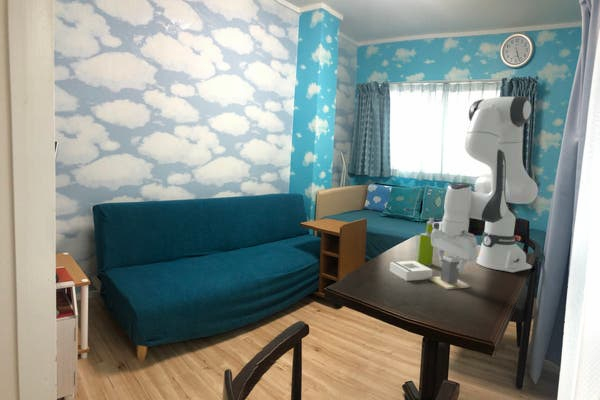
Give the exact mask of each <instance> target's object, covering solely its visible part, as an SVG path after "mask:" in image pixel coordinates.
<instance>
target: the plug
mask: <svg viewBox="0 0 600 400" xmlns="http://www.w3.org/2000/svg"><path fill="white" fill-rule="evenodd" d="M460 262H461V261H460V257H457V256H455V255H444V256H443V262H442V264H441V275H440V276H441V280H442V281H444V282H446V283H448V284H449V283H457V279H458V278H459V277H458V276H459V271H460V270H459V269H457V264H459V263H460Z"/></svg>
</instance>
